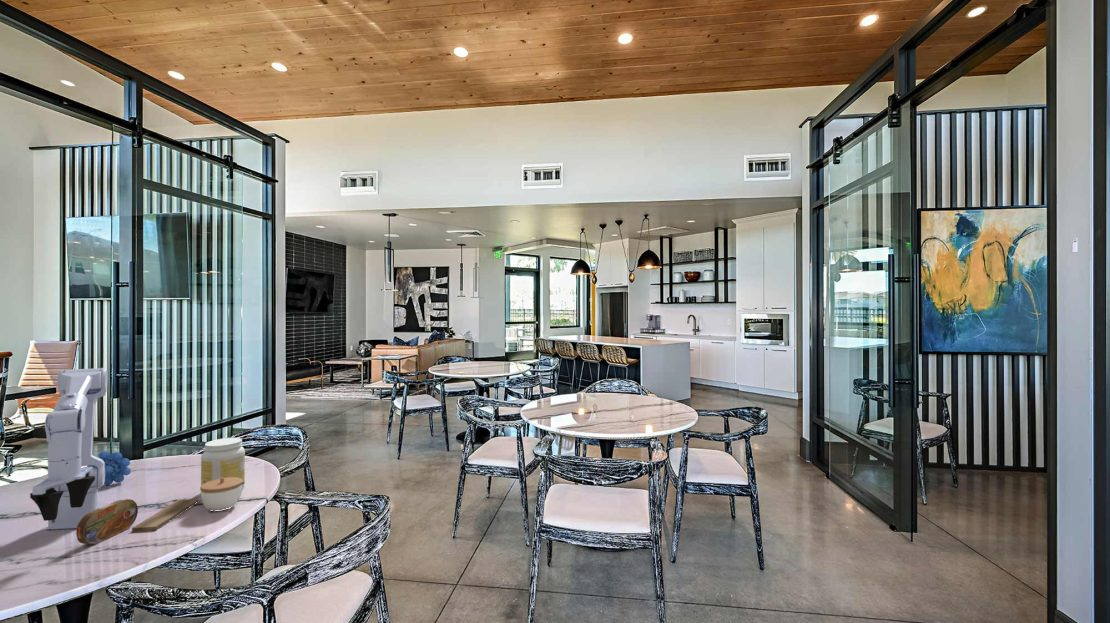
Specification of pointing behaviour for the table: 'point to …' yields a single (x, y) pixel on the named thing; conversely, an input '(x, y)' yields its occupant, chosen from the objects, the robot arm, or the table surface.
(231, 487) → the lidded jar
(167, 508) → the walnut board
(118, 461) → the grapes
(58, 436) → the robot arm
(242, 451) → the supplement tub
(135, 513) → the tin
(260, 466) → the table surface
